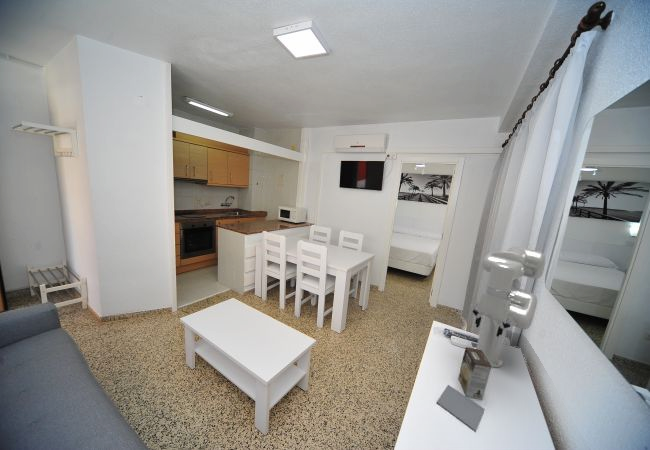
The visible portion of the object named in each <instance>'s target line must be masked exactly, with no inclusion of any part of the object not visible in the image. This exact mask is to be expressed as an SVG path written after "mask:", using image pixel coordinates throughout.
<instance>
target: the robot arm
mask: <svg viewBox="0 0 650 450" xmlns="http://www.w3.org/2000/svg"><path fill="white" fill-rule="evenodd" d="M545 266H546V256H545V254H544V253H543V252H542V251H539V250H534V249H530V248H525V247H520V246H512V247H509V248H508V249H507V250H506V251H505V250H504V251H490V252H488V253H486V255H485V256H484V257H483V258H482V260H481V268H482V270H483V271H484V272H487V273H489V276H488V280H487V284H486V288H485V289H484V290H483V291H482V294H481V296H480V298H479V301H478V302H476V303H473V304H470V306H469V307H470V309H471V311H472V313H473V314H474V316H475V323H474V324H475V328H479V327H480V325H481V328H480V332H479V335H478V341H477V344H476V347H477V348H476V349H478V350H482V352H483V353H484V355H485V357H486V358H487V360H488V361H489V363H490V365H491V366H492V367H491V368H501V367H502V366H503V359H502V358H501V354H502V351H503V346H504V345H505V344H504V343H505V340H506V336H507V329H509V328H511V327H515V328H517V329H521V330H528V329H529V328H530V327H531V326H532V323H533V319H534V317H535V313H536V310H537V305H538V298H537V296H536V295H535V294H534V293H533V292H531V291H527V290H525V289H522V288H521V284H522V283H521V282H520V280H519V279H521V278H522V277H527V278H529V279H533V280H538V279H540V278H541V277H542V276H543V274H544V271H545ZM482 316H483V320H482ZM481 321H482V323H481ZM472 348H473V347H472ZM473 349H474V348H473Z"/></svg>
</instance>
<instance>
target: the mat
mask: <svg viewBox="0 0 650 450" xmlns="http://www.w3.org/2000/svg"><path fill="white" fill-rule="evenodd" d="M436 404H437V405H438V406H440V407H441V408H442V409H444V410H445V411H446V412H448V413H449V414H450V415H452V416H453V417H454V418H456V419H457V420H459V421H460V422H462V424H464V425H465V426H467V427H468V428H470V430H472V431H473V432H475V433H476V432H477V428H478V426H479V424H480V422H481V419H482V417H483V415H484V412H485V407H483V406H482V405H480V404H478V403H477V402H475V401H474V400H473V399H472V398H470V397H466V395H465V394H463V393H462V392H460V391H458V390H457V389H455V388H454V387H453V386H452V385H449V384H448V385H447V386H446V387H445V389H444V390H443V392H442V393H441V395H440V397H439V398H438V399H437V401H436Z"/></svg>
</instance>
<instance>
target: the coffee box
mask: <svg viewBox="0 0 650 450" xmlns="http://www.w3.org/2000/svg"><path fill="white" fill-rule="evenodd" d="M492 368H493V367H492V366H491V365H490V363H489V361H488V360H487V358H486V357H485V355H484V353H483V352H482V350H478V349H473V347H467V346H466V347H465V349H464V354H463V356H462V362H461V365H460V371H459V374H458V378H457V379H458V380H459V383H460V386H461V388H462V390H463V393H464V395H465V396H466V397H468V398H469V399H475V400H480V401H483V398H484V395H485V391H486V387H487V384H488V382H489V381H488V380H489V377H490V373H491V369H492Z"/></svg>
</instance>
